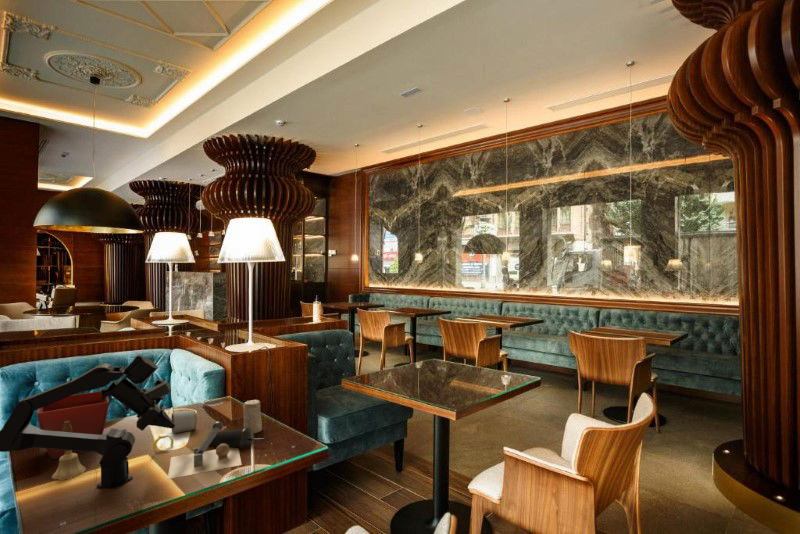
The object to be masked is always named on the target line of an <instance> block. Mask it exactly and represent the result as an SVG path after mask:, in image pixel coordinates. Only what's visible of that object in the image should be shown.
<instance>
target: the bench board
mask: <svg viewBox="0 0 800 534" xmlns="http://www.w3.org/2000/svg"><path fill="white" fill-rule="evenodd" d="M198 448H199V446H198V447H194V448H193V453H189V454H182V455H177V456H171V457H170V463H169V467H168V468H169V470H168V472H167V480H171V479H177V478H181V477H186V476H192V475H197V474H202V473H206V472H207V473H208V472H212V471H213V472H214V471H217V470H222V469H228V468H233V467H238V466H242V459H241V456H240V455H241V454H240V449H238V448H230V447H229V453H228V454H227V459H223V460H218V455H217V454H216V449H211V450H205V452H204V453H200V454H196V451H197V449H198Z"/></svg>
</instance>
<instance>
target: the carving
mask: <svg viewBox="0 0 800 534" xmlns="http://www.w3.org/2000/svg"><path fill="white" fill-rule="evenodd" d="M242 406H243V407H242V408H243V409H242V411H243V414H242V415H243V429H245V428H250V429H251V430H252V432H253V434H256V433H259V432H261V431H262V430H263V427H262V426H263V425H262V414H261V412H262V411H261V401H260V400H259V399H252V400H246V401H245V402H244V403H243V404H242Z"/></svg>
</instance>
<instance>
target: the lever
mask: <svg viewBox="0 0 800 534" xmlns="http://www.w3.org/2000/svg"><path fill="white" fill-rule="evenodd" d="M223 425H224V424H223V422H221V421H216V422H214V423H213V424H212V428H211V429H210V431H209V432H208V434H207V435H206V436H205V438H204V439H203V440H202V443H200V445H199V446H198V447H199V448H198V449H197V451H196V454H200V453H204V452H205V451H207V449H208V448H209V446H211V445H210V443H211V442H212V440H213V439H214V437H215V436H216V434H217V433H218V432H220V431H222V429H223V427H224V426H223Z"/></svg>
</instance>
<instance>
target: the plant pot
mask: <svg viewBox="0 0 800 534" xmlns="http://www.w3.org/2000/svg"><path fill="white" fill-rule="evenodd" d="M101 398H102V393H101V390H100V391H93V392H84V393H76V394H74V395H71V396H69V397H66V398H64V399H61V400H59V401H57V402H54V403H52V404H49V405H47V406H44V407H42V408H40V409H37V412H36V414H37V421H38V425H39V427H38V428H39V429H41V430H48V431H59V432H62V428H63V425H64V422H65V421H69V422H70V424H71V426H72V431H73V433H83V434H95V435H103V434H104V430H105V427H106V423H107V418H108V412H109V406H110V405H109V404H110V401H109V400H110V399H109V395H108V396H107V397H106V398H105V399H104V400H102V399H101ZM45 449H46V452H47V454H48V456H49V458H50V459H51V460H55V459H58V458H59V459H60V457H62V456H63V455H64V454H65V450H62V449H48V448H45ZM89 452H90V451H76V450H72V453H76V454H77V455H78V454H85V453H89Z"/></svg>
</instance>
